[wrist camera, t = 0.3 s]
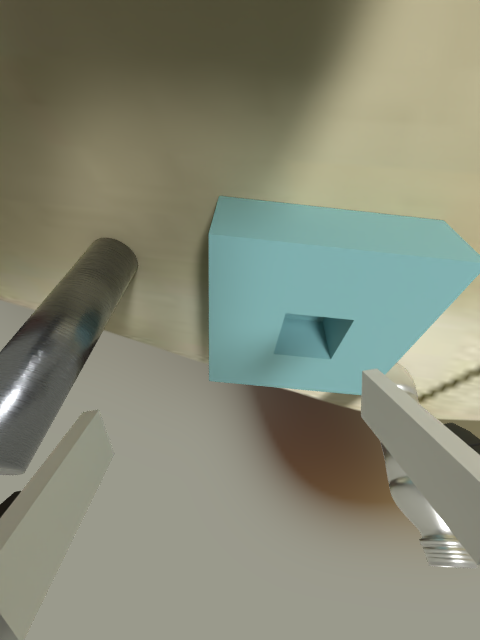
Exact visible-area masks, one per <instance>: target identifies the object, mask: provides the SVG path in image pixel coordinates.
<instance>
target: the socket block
mask: <svg viewBox="0 0 480 640" xmlns="http://www.w3.org/2000/svg"><path fill="white" fill-rule="evenodd" d="M479 274H480V255H479V254H478V253H477V252H476V251H475V250H474V249H473V248H472V247H471V246H470V245H468V244H467V243H466V242H465V241H464V240H463V239H462V238H461V237H460V236H459V235H458V234H457V233H456V232H455V231H454V230H453V229H452V228H451V227H450V226H449V225H448V224H447V223H446V222H445V221H443V220H434V219H425V218H416V217H407V216H398V215H389V214H380V213H371V212H362V211H353V210H344V209H335V208H325V207H316V206H307V205H298V204H289V203H280V202H271V201H262V200H253V199H244V198H235V197H226V196H219V198H218V202H217V206H216V209H215V213H214V216H213V220H212V224H211V227H210V231H209V381H215V382H225V383H237V384H248V385H258V386H269V387H279V388H290V389H301V390H312V391H322V392H333V393H344V394H355V395H362V371H364V370H371V369H378V370H379V371H381V372H382V373H383V374H384V375H385V374H386V373H387V372H388V371H389V370H390V369H391V368H392V367H393V366H394V365H395V364H396V363H397V362H398V361H399V359H400V358H401V357H402V356H403V355H404V354H405V353H406V352H407V351H408V350H409V349H410V348H411V347H412V345H413V344H414V343H415V342H416V341H417V340H418V339H419V338H420V337H421V336H422V335H423V334H424V333H425V332H426V330H427V329H428V328H429V327H430V326H431V325H432V324H433V323H434V322H435V321H436V320H437V319H438V318H439V316H440V315H441V314H442V313H443V312H444V311H445V310H446V309H447V308H448V307H449V306H450V305H451V304H452V303H453V301H454V300H455V299H456V298H457V297H458V296H459V295H460V294H461V293H462V292H463V291H464V290H465V289H466V287H467V286H468V285H469V284H470V283H471V282H472V281H473V280H474V279H475V278H476V277H477V276H478V275H479Z"/></svg>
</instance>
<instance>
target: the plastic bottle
mask: <svg viewBox="0 0 480 640" xmlns="http://www.w3.org/2000/svg"><path fill="white" fill-rule="evenodd" d="M385 376H387V377H388V378H389V379H390V380H391V381H392V382H394V383H395V384H396V385H397V386H398V387H400V388H401V389H402V390H403V391H404V392H406V393H407V394H408V395H409V396H410V397H411V398H413V399H414V400H415V401H416V402H417V403H419V401H418V395H417V390H416V387H415V383H414V380H413V378H412V377H411V375H410V374H409V373H408V371H407V370H406V369H405V368H404V367H402V366H400V365H399V364H397V363H396V364H395V365H394V366H393V367H392V368H391V369H390V370H389V371H388V372H387V373H386V374H385ZM419 404H420V403H419ZM381 445H382V449H383V453H384V457H385V464H386V469H387V475H388V482H389V487H390V491H391V496H392V497H393V499H394V501H395V503H396V505H397V506H398V507H399V508H400V510H401V511H402V512H403V513H404V514H405V516H406V517H407V518H408V519H409V520H410V521H411V522H412V523H413V524H414V525H415V526H416V527H417V528H418V530H419V531H420V533H421V535H422V539H419V540H420V544H421V545H422V546H423V549H424V552H425V556H426V559H427V562H428V563H429V566H439V567H454V568H477V564H476V562H475V561H474V560H473V559H472V557H471V556H470V555H469V554H468V552H467V551H466V550H465V548H464V547H463V546H462V545H461V543H460V542H459V541H458V539H457V538H456V537H455V536H454V534H453V533H452V532H451V531H450V529H449V528H448V527H447V525H446V524H445V523H444V522H443V520H442V519H441V518H440V516H439V515H438V514H437V513H436V511H435V510H434V509H433V508H432V506H431V505H430V504H429V502H428V501H427V500H426V499H425V497H424V496H423V495H422V493H421V492H420V491H419V490H418V488H417V487H416V486H415V485H414V483H413V482H412V481H411V479H410V478H409V477H408V476H407V474H406V473H405V472H404V471H403V469H402V468H401V467H400V465H399V464H398V463H397V462H396V460H395V459H394V458H393V456H392V455H391V454H390V453H389V451H388V450H387V449H386V448H385V446H384V445H383V444H382V442H381Z"/></svg>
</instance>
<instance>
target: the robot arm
mask: <svg viewBox="0 0 480 640" xmlns="http://www.w3.org/2000/svg"><path fill="white" fill-rule="evenodd" d="M361 417H362V418H363V419H364V421H365V422H366V423H367V424H368V426H369V427H370V428H371V429H372V431H373V432H374V433H375V435H376V436H377V437H378V438H379V440H380V441H381V442H382V444H383V445H384V446H385V448H386V449H387V450H388V451H389V453H390V454H391V455H392V456H393V458H394V459H395V460H396V462H397V463H398V464H399V465H400V467H401V468H402V469H403V471H404V472H405V473H406V474H407V476H408V477H409V478H410V479H411V481H412V482H413V483H414V485H415V486H416V487H417V488H418V490H419V491H420V492H421V493H422V495H423V496H424V497H425V499H426V500H427V501H428V502H429V504H430V505H431V506H432V508H433V509H434V510H435V511H436V513H437V514H438V515H439V516H440V518H441V519H442V520H443V522H444V523H445V524H446V525H447V527H448V528H449V529H450V531H451V532H452V533H453V534H454V536H455V537H456V538H457V539H458V541H459V542H460V543H461V545H462V546H463V547H464V548H465V550H466V551H467V552H468V554H469V555H470V556H471V557H472V559H473V560H474V561H475V562H476V564H477V565H480V439H478V438H477V437H476V436H475V435H473V434H472V433H471V432H470V431H468V430H466V429H464V428H462V427H460V426H458V425H456V424H454V423H448V424H442V423H441V422H440V421H439V420H438V419H436V418H435V417H434V416H433V415H432V414H430V413H429V412H428V411H427V410H426V409H425V408H423V407H422V406H421V405H420V404H419V403H417V402H416V401H415V400H414V399H413V398H411V397H410V396H409V395H408V394H407V393H406V392H404V391H403V390H402V389H401V388H400V387H398V386H397V385H396V384H395V383H394V382H392V381H391V380H390V379H389V378H388V377H387V376H385V375H384V374H383V373H382V372H381V371H379V370H378V369H371V370H364V371H362V397H361ZM113 456H114V451H113V448H112V445H111V443H110V440H109V437H108V434H107V431H106V428H105V426H104V422H103V420H102V417H101V414H100V411H99V410H94V411H87V412H83V413H82V414H81V415H80V417H79V418H78V419H77V421H76V422H75V423H74V425H73V426H72V427H71V428H70V430H69V431H68V432H67V433H66V435H65V436H64V438H63V439H62V440H61V441H60V442H59V444H58V445H57V446H56V448H55V449H54V450H53V451H52V453H51V454H50V455H49V456H48V458H47V459H46V461H45V462H44V463H43V464H42V466H41V467H40V468H39V469H38V471H37V472H36V473H35V474H34V476H33V477H32V478H31V479H30V481H29V482H28V483H27V485H26V486H25V487H24V489H23V490H22V491H17V492H14V493H13V494H12V495H11V496H10V497H8V498H7V499H6V500H5V501H4V502H3V503H1V504H0V640H24V639H25V637H26V635H27V633H28V631H29V628H30V627H31V625H32V622H33V621H34V618H35V616H36V614H37V612H38V610H39V608H40V606H41V604H42V602H43V600H44V598H45V596H46V594H47V592H48V589H49V587H50V586H51V584H52V581H53V579H54V577H55V575H56V573H57V571H58V569H59V567H60V565H61V563H62V561H63V559H64V557H65V555H66V553H67V551H68V548H69V546H70V544H71V542H72V540H73V538H74V536H75V534H76V532H77V530H78V528H79V526H80V524H81V522H82V520H83V518H84V516H85V514H86V512H87V509H88V507H89V505H90V503H91V501H92V499H93V497H94V495H95V493H96V491H97V489H98V487H99V485H100V483H101V481H102V479H103V476H104V474H105V472H106V470H107V468H108V466H109V464H110V462H111V460H112V458H113Z"/></svg>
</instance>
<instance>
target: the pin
mask: <svg viewBox="0 0 480 640" xmlns="http://www.w3.org/2000/svg"><path fill="white" fill-rule="evenodd" d="M137 267H138V262H137V258H136V256H135V254H134V253H133V252H132V250H131V249H130V248H129V247H127V246H126V245H125V244H123V243H122V242H120V241H118V240H115V239H111V238H100V239H97V240H96V241H94V242H93V243H92V245H91V246H90V247H89V248H88V249H87V250H86V252H85V253H84V254H83V255H82V256H81V257H80V259H79V260H78V261H77V262H76V263H75V265H74V266H73V267H72V268H71V269H70V270H69V272H68V273H67V274H66V275H65V276H64V277H63V279H62V280H61V281H60V282H59V283H58V285H57V286H56V287H55V288H54V289H53V290H52V292H51V293H50V294H49V295H48V296H47V298H46V299H45V300H44V301H43V302H42V303H41V305H40V306H39V307H38V308H37V309H36V310H35V312H34V313H33V314H32V315H31V316H30V318H29V319H28V320H27V321H26V322H25V323H24V325H23V326H22V327H21V328H20V329H19V331H18V332H17V333H16V334H15V335H14V336H13V338H12V339H11V340H10V341H9V342H8V343H7V345H6V346H5V347H4V348H3V349H2V351H1V352H0V475H20V474H23V473H25V471H26V469H27V467H28V465H29V464H30V462H31V460H32V458H33V456H34V454H35V453H36V451H37V449H38V447H39V446H40V444H41V442H42V440H43V438H44V437H45V435H46V433H47V431H48V429H49V428H50V426H51V424H52V422H53V420H54V418H55V417H56V415H57V413H58V411H59V409H60V408H61V406H62V404H63V402H64V400H65V399H66V397H67V395H68V393H69V391H70V389H71V387H72V386H73V384H74V382H75V380H76V379H77V377H78V375H79V373H80V371H81V370H82V368H83V366H84V364H85V362H86V361H87V359H88V357H89V355H90V353H91V352H92V350H93V348H94V346H95V344H96V342H97V341H98V339H99V337H100V335H101V333H102V332H103V330H104V328H105V326H106V324H107V323H108V321H109V319H110V317H111V315H112V314H113V312H114V310H115V308H116V306H117V305H118V303H119V301H120V299H121V297H122V296H123V294H124V292H125V290H126V288H127V286H128V285H129V283H130V281H131V279H132V277H133V276H134V274H135V272H136V270H137Z"/></svg>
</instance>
